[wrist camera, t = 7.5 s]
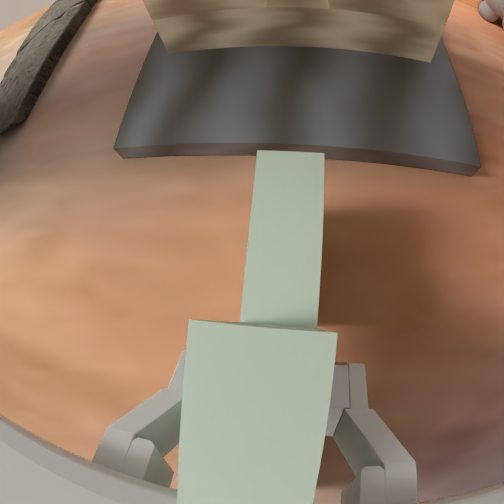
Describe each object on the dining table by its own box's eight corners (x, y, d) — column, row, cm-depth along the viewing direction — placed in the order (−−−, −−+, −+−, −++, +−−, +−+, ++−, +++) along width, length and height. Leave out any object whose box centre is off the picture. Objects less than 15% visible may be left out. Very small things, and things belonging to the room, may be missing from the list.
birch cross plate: (123, 158, 21) (50, 83, 12) (182, 0, 25) (157, -65, 16) (471, 176, 17) (542, 100, 9) (417, 6, 22) (433, -61, 13)
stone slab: (-35, 143, 24) (59, -17, 29) (-18, 153, 27) (67, -5, 32) (13, 127, 22) (112, -38, 27) (32, 141, 25) (120, -24, 31)
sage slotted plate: (286, 489, 15) (266, 653, 3) (245, 484, 15) (180, 639, 3) (314, 219, 18) (336, 49, 6) (272, 216, 19) (232, 48, 6)
